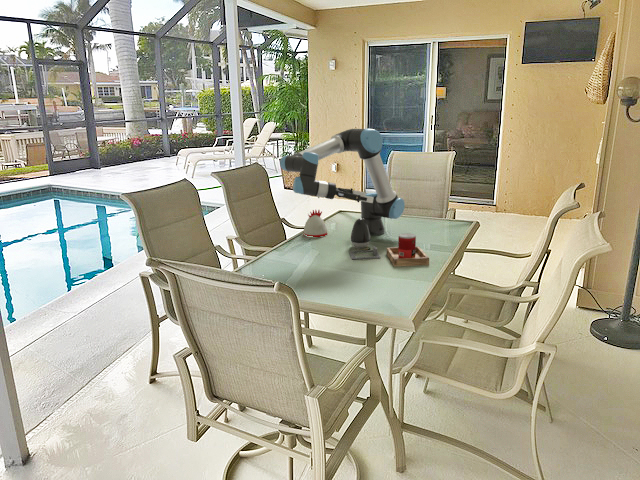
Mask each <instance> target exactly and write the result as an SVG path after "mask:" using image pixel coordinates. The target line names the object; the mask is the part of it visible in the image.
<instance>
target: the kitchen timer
mask: <svg viewBox="0 0 640 480" xmlns="http://www.w3.org/2000/svg"><path fill="white" fill-rule="evenodd" d="M322 213H323V211H320V209H318V211H317V209H315V210H314V209H312V211H310V214H309V213H307V216H308V219H307V220H306V222H305V224H304V229H303V232H304V234H305V235H307V236H313V237H320V236H325V235H327V236H328V228H327V225H326V221H325V220H324V219H323V218H322V217H321V216H322ZM304 234H303V235H304ZM325 237H326V236H325ZM320 238H321V237H320Z"/></svg>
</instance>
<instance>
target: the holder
mask: <svg viewBox="0 0 640 480" xmlns="http://www.w3.org/2000/svg"><path fill="white" fill-rule="evenodd" d="M372 247H373V248H372V249H362V250H358V249H357V250H349V253H348V254H349V255H350V257H351V260H356V261H357V260H372V259H374V260H375V259H381V256H380V254H379V253H378V248H377V246H374V245H373V246H372ZM355 253H372V254H373V255H374V256H359V257H358V256H356V255H355Z"/></svg>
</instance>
